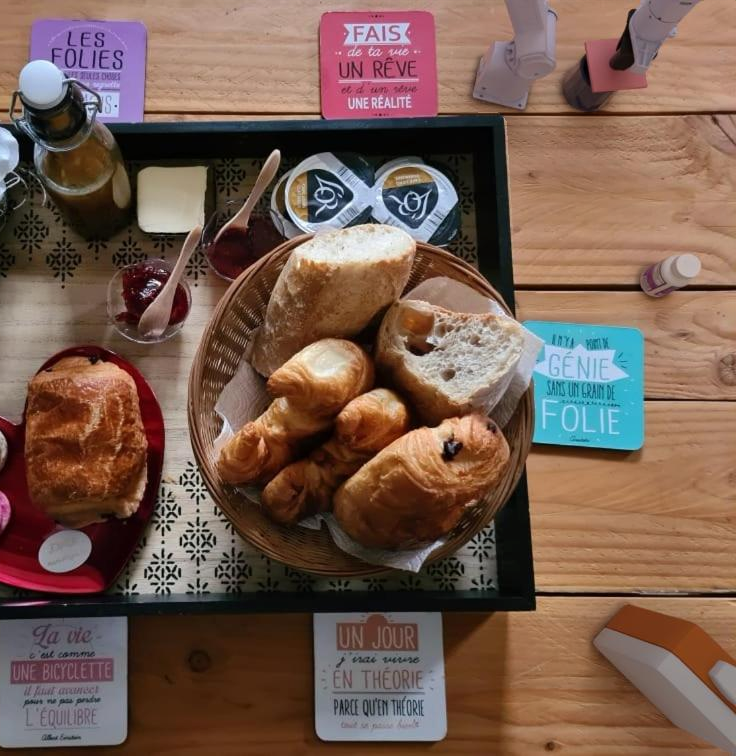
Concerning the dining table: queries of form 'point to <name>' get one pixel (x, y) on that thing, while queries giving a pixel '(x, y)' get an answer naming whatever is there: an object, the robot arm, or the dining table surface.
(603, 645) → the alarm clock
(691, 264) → the pill bottle
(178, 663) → the dining table surface
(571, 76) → the dark faceted cylinder
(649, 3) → the robot arm
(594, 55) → the pink square knobbed lid
